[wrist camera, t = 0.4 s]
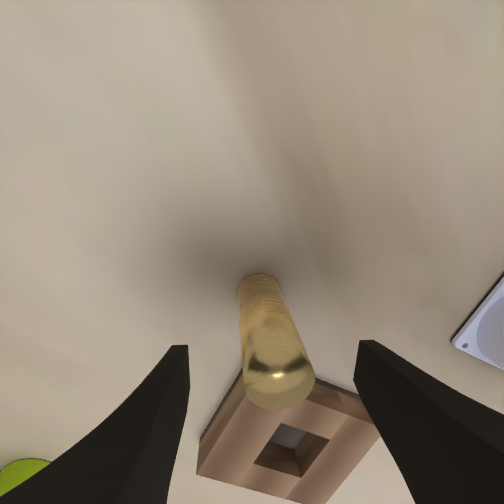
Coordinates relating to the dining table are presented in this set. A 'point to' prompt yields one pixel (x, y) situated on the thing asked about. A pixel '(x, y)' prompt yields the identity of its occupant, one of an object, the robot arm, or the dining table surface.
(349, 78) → the dining table surface
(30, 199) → the dining table surface
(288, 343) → the brass peg
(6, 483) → the soap dispenser
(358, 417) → the walnut block
